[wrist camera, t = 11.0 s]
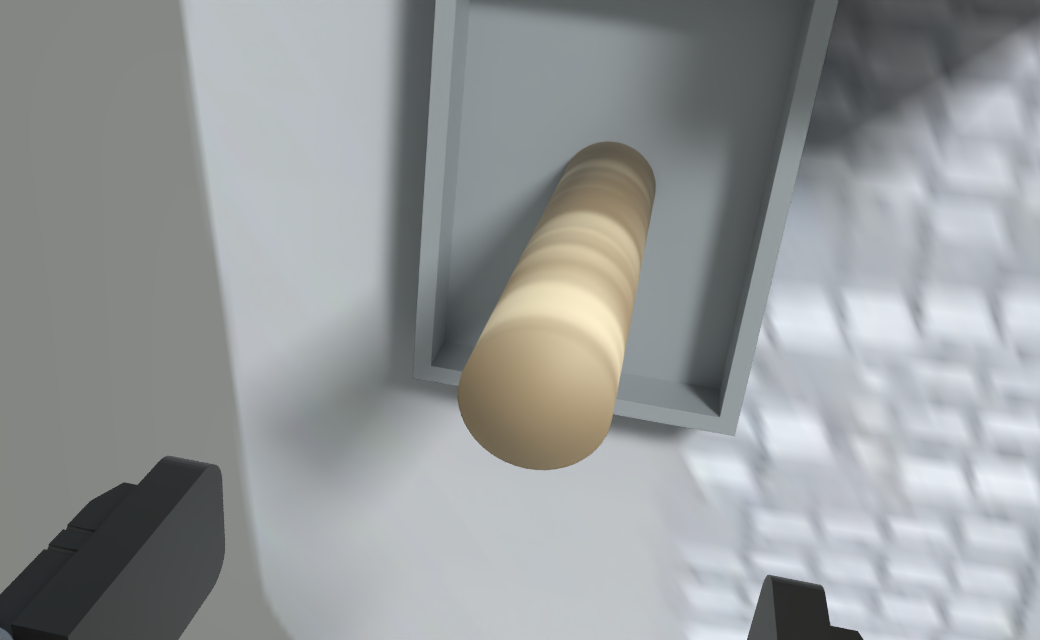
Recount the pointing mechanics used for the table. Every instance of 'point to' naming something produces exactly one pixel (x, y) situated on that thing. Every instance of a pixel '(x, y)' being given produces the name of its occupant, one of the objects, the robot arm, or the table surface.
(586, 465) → the table surface
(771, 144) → the grey tray
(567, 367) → the birch dowel
